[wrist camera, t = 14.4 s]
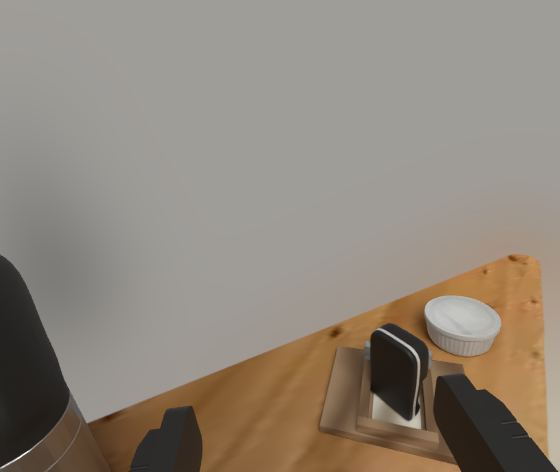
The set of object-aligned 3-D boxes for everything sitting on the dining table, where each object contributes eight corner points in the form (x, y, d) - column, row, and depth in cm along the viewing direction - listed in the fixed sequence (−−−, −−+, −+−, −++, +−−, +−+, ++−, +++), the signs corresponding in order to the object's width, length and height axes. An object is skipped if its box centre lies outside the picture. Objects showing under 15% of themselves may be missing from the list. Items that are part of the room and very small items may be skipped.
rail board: (320, 431, 43) (317, 404, 41) (338, 351, 56) (337, 327, 54) (483, 471, 37) (490, 441, 34) (461, 370, 49) (465, 344, 47)
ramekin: (412, 343, 56) (414, 319, 54) (434, 310, 63) (437, 288, 61) (486, 374, 48) (492, 347, 46) (502, 333, 56) (507, 308, 54)
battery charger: (428, 408, 43) (435, 342, 38) (410, 425, 41) (415, 357, 36) (385, 376, 48) (387, 314, 44) (368, 389, 46) (368, 326, 42)
